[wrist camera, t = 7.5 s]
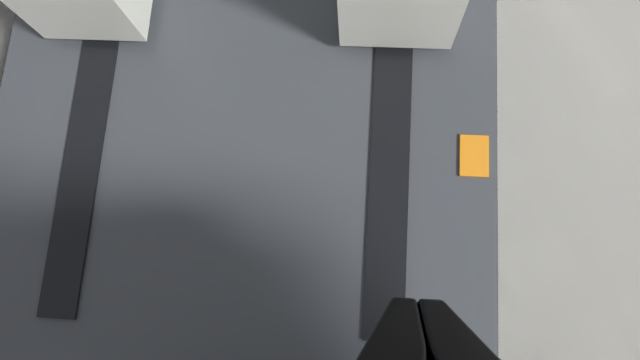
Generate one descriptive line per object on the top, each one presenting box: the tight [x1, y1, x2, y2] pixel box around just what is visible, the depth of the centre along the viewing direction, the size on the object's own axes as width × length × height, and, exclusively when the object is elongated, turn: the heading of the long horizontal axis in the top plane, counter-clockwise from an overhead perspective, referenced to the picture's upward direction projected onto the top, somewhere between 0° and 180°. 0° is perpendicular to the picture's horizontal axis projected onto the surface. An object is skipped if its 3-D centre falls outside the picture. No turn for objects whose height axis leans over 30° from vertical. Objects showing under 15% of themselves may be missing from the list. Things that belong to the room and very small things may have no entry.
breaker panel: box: [0, 0, 498, 360], centre depth 17 cm, size 13×15×3 cm
